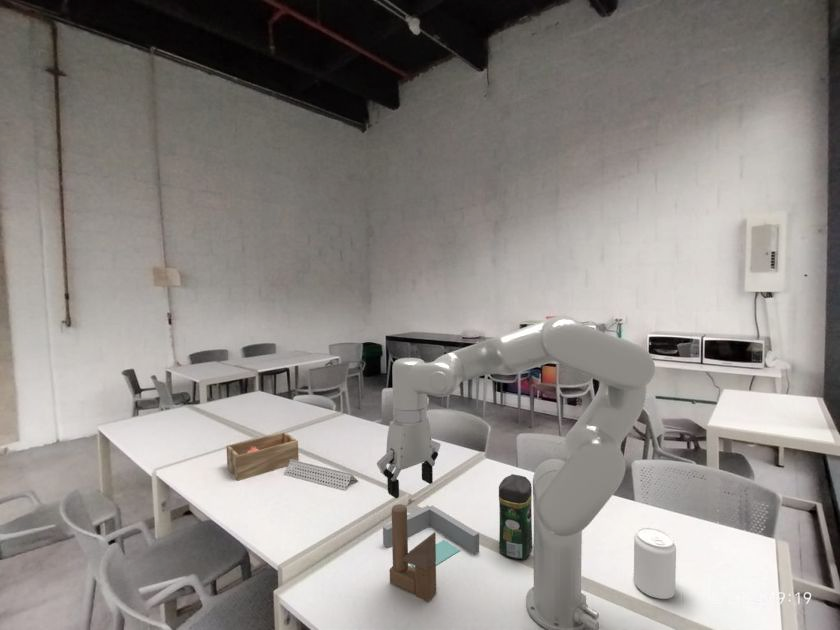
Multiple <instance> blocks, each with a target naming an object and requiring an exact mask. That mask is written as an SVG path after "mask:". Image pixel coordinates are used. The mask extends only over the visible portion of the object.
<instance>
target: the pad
mask: <svg viewBox="0 0 840 630" xmlns="http://www.w3.org/2000/svg"><path fill="white" fill-rule="evenodd" d="M460 551H461V550H460V549H459V548H457V547H456V546H454V545H453V544H452V543H450V542H449V541H447V540H445V539H442V540H441V541H439V542H437V543H436V562H435V563H436V566H438V565H440V564H441V563H443V562H445V561H446V560H447V559H450V558H451V557H453V556H454V555H456V554H457V553H459V552H460ZM408 565H409V566H411V567H413V568H415V565H413V564H410V563H408Z"/></svg>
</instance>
